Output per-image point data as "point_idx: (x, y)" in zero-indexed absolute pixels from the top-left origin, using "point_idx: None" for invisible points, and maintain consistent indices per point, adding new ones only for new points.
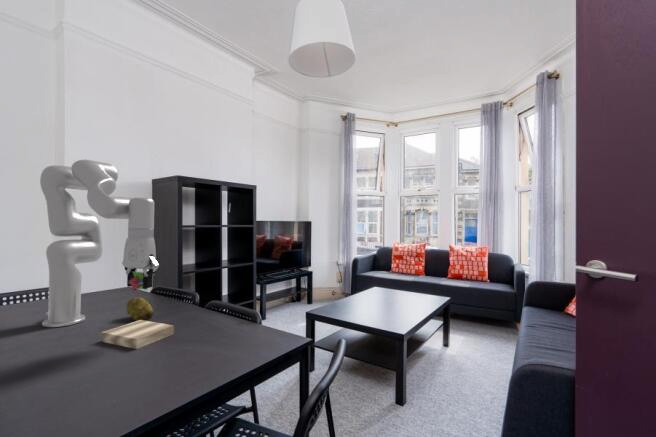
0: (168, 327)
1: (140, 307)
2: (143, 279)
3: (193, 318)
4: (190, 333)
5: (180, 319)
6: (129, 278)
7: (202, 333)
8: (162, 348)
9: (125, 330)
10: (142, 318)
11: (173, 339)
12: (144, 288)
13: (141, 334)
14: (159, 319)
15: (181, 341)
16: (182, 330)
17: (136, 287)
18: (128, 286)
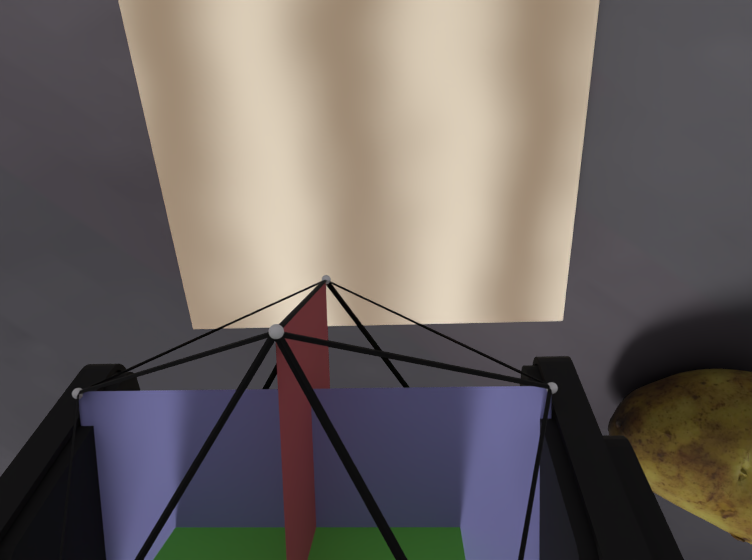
0: (183, 284)
1: (743, 461)
2: (3, 503)
3: None
4: (128, 343)
5: None
6: (533, 488)
7: (64, 370)
8: (4, 73)
9: (431, 86)
10: (654, 387)
11: (114, 226)
12: (95, 370)
13: (205, 79)
14: None
15: (32, 222)
16: (227, 361)
17: (326, 373)
18: (535, 358)
